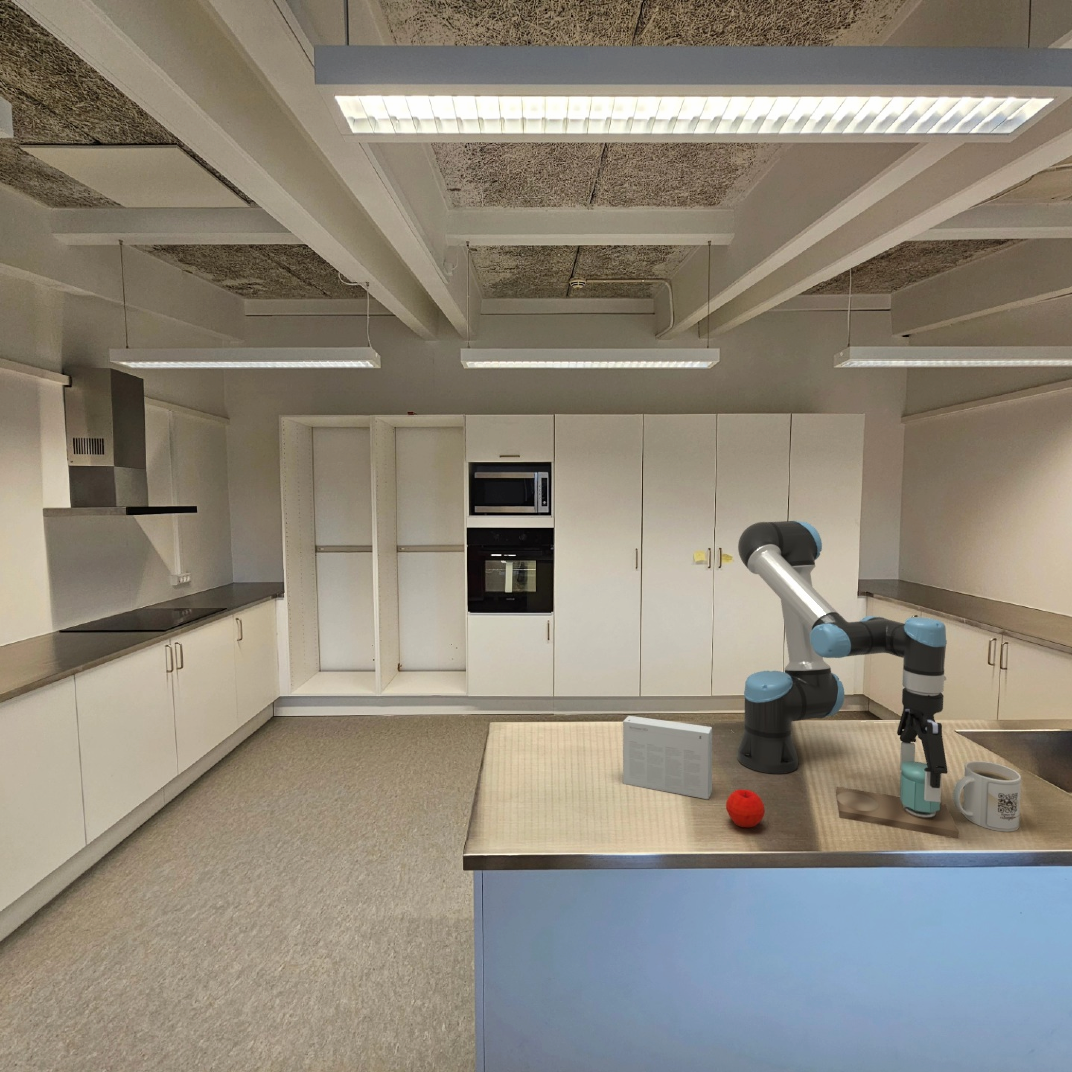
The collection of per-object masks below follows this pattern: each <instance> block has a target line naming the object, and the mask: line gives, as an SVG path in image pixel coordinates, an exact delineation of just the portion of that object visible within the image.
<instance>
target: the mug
mask: <svg viewBox="0 0 1072 1072" xmlns="http://www.w3.org/2000/svg"><path fill="white" fill-rule="evenodd" d="M1021 788H1022V776H1021V774H1020V773H1019V772H1018V771H1016V770H1014V769H1013V768H1011V767H1008V766H1005V765H1003V764H999V763H997V762H996V763H995V762H991V761H984V760H974V761H973V760H972V761H967V762H966V763H965V764H964V776H962V777H961V778H960V779H959V780H958V781H957V782H956V783H955V786H954V788H953V792H952V801H953V805H954V807H955V808H956V809H957V811H958V812H960V813H962V814H963V816H964V818H966V819H967V820H969V821H970V822H971V823H973V824H975V825H977V826H979V827H982V828H985V829H988V830H991V831H998V832H1006V833H1007V832H1009V833H1010V832H1015V831H1017V830H1018V829H1019V827H1020V815H1021V812H1020V811H1021V810H1020V809H1021V795H1022V793H1021V790H1022V789H1021ZM962 791H963V803H962V804H963V805H962V804H961V794H962Z"/></svg>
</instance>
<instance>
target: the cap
mask: <svg viewBox="0 0 1072 1072" xmlns="http://www.w3.org/2000/svg"><path fill="white" fill-rule="evenodd" d="M925 768H928V767H927V763H926V762H922V761H916V760H915V761H908V762H904V763H902V771H900V781H899V782H900V784H899V785H900V786H899V793H900V794H899V797H900V800H901V802H902V804H903V805H905V806H907V807H909V808H911V809H913V810H917V811H923V812H929V813H930V812H935V811H938V810H940V803H941V801H940V802H934V801H925V799H924V792H925V771H924V769H925Z"/></svg>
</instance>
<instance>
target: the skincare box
mask: <svg viewBox="0 0 1072 1072" xmlns="http://www.w3.org/2000/svg"><path fill="white" fill-rule="evenodd" d="M622 738H623V739H622V742H623V743H622V768H623V769H622V771H623V772H622V783H623V784H624V785H629V786H634V787H640V788H644V789H651V790H655V791H660V792H667V793H671V794H677V795H683V796H687V797H694V798H699V799H704V800H709V799H710V797H711V795H712V790H713V781H712V780H713V779H712V778H713V776H712V775H713V763H712V762H713V743H712V742H713V727H712V726H705V725H700V724H691V723H684V722H678V721H671V720H663V719H655V718H647V717H643V716H642V717H641V716H634V715H627V717H626V718H625V719H623V721H622Z"/></svg>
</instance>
